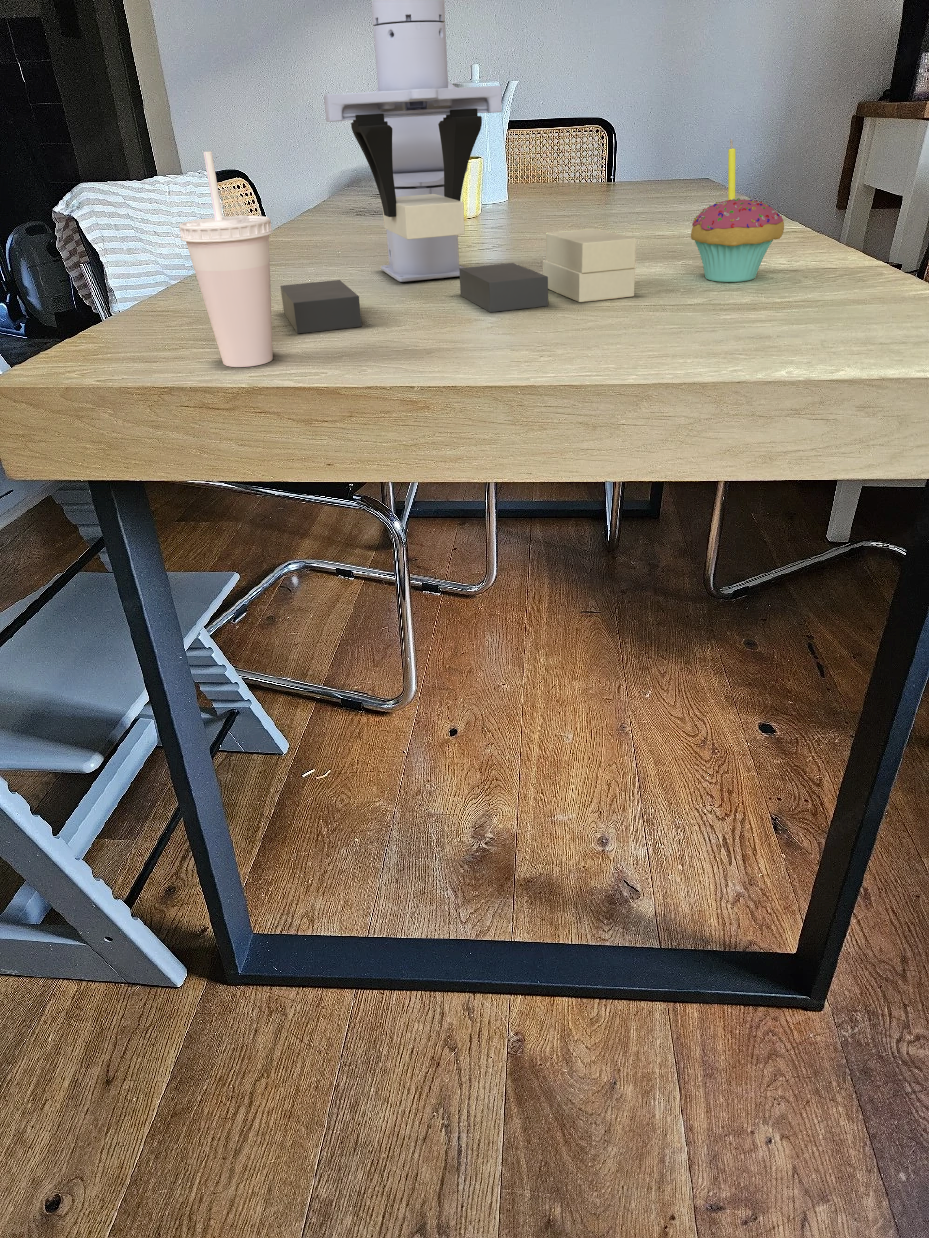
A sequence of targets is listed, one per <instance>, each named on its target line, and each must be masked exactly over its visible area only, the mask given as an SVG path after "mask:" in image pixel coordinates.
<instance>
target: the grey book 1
mask: <svg viewBox="0 0 929 1238" xmlns="http://www.w3.org/2000/svg"><path fill="white" fill-rule="evenodd" d="M279 289H280V294H281V302H282V308H283V314H284V316H285V317H286V319H287V320H288V321H289V324H291V326H292V327H293V329H294V331H295V332H296V333H297V334H298V335H299V334H307V333H315V332H326V331H334V330H343V329H353V328H361V327H362V326H363V324H362V323H363V322H362V315H361V303H360V296H359V295H358V294H357V293H356V292H355V291H353V290H352V289H351V288H350V287H349V286H347V285H346V284H345V282H343V281H342V280H341V279H335V280H325V281H315V282H314V281H313V282H305V283H294V284H293V283H292V284H284V285H280V288H279Z"/></svg>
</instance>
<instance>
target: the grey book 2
mask: <svg viewBox="0 0 929 1238" xmlns="http://www.w3.org/2000/svg"><path fill="white" fill-rule="evenodd" d="M459 272H460V276H459V289H460V290H459V291H460V296H461V297H462V298H464V299H466V300H467V301H470V302H471V303H473V304H475V305H476V306H478V307H480V308H481V309H484V310H485V311H487V312H488V313H497V312H506V311H514V310H524V309H532V308H542V307H548V306H549V289H548V277H547V276H545V275H543V273H540V272H537V271H534V270H532V269H529V268H527V267H524V266H522V265H520V264H517V263H515V262H508V263H497V264H489V265H478V266H469V267H465V268H459Z"/></svg>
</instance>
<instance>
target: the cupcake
mask: <svg viewBox="0 0 929 1238" xmlns="http://www.w3.org/2000/svg"><path fill="white" fill-rule="evenodd" d="M729 142H730V143H729V146H730V147H729V149H728V151H727V157H728V158H727V163H728V164H727V167H728V168H727V169H728V170H727V171H728V172H727V178H728V179H727V182H728V183H727V185H728V186H727V187H728V188H727V199H725V200H723V201H716V202H715V203H713V204H712V205H711V204H710V205H709V206H707V207H706V208H705V207H704V208H703V209H702V211H700V212H699V213H698V215H696V216H695V217H694V220H692V224H691V226H692V228H691V232H690V239H691V240H692V241H694V243H695V245H696V247H697V250H698V252H699V255H700V259H701V263H702V267H703V272H704V277H705V279H706V280H709V281H712V282H721V283H742V282H747V281H751V280H754V279H755V278H756V277H757V274H758V271H759V269H760V266H761V264H762V261H763V259H764V257H765V255H766V253H767V251H768V250H769V248H770V246H771V244H772V243H773V241H774V240H776V241H777V240H780V239H781V238H782V236H783V235H784V230H785V222H784V218H783V217H782V215H780V213H779V211H777V210H776V209H774V208H773V207H772V206H771V205H770V204H767V203H766V202H763V201H757V200H755V199H753V198H751V199H746V198H742V199H741V198H736V168H737V167H736V165H737V163H736V159H737V157H736V155H737V154H736V152H737V151H736V149H737V148H734V145H733V139H732V138H731V139H729Z"/></svg>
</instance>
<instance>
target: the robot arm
mask: <svg viewBox="0 0 929 1238" xmlns="http://www.w3.org/2000/svg"><path fill="white" fill-rule="evenodd" d="M370 3H371V5H370V6H371V17H372V27H373V39H374V55H375V66H376V78H377V88H376V89H375V90H374V91H363V92H362V91H361V92H343V93H342V92H341V93H326V94H323V103H324V111H325V112H324V114H325V121H326V122H328V123H332V122H333V123H335V122H345V121H346V122H347V121H352V122H351V123H350V127H351V131H352V133H353V136H354V138H355V140H356V141H357V144H358V145H359V147H360V149H361V152H362V153H363V155H364V157H365V159H366V162H367V164H368V166H369V169H370V171H371V173H372V176H373V178H374V181H375V185H376V188H377V191H378V194H379V198H380V201H381V207H382V206H383V209H382V212H383V211H384V215H385V216H387V217H396V197H401V196H414V195H427V194H437V195H440V196H444V197H447V198H451V199H455V200H458V201H461V199H462V191H463V187H464V182H465V177H466V173H467V172H468V164H469V161H470V159H471V156H472V152H473V149H474V147H475V144H476V141H477V139H478V137H479V134H480V133H481V130H482V124H483V117H482V116H481V115H478V114H494V113H495V114H496V113H502V112H503V107H502V106H503V105H502V104H503V103H502V86H501V85H487V86H465V87H463V86H462V87H456V86H455V85H454V84H452V82H451V81H449V72H448V71H449V70H448V51H447V33H446V31H447V29H446V28H447V27H446V7H445V0H370ZM385 232H386V244H387V254H388V264H383V265H380V270H381V271H382V272H384V273H386V274H387V275H389V276H390V277H391V278H393V279H395V280H396V281H397V282H399V283H404V282H405V283H406V282H414V281H415V282H416V281H426V280H435V279H444V278H454V277H460V272H459V268H466V267H465V266H463V265H460V253H459V252H460V251H459V250H460V249H459V235H453V236H442V237H431V238H419V239H405V238H403V237H401V236H399V235H397V234H395V233H393V232H391V231H389V230H387V229H385Z"/></svg>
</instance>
